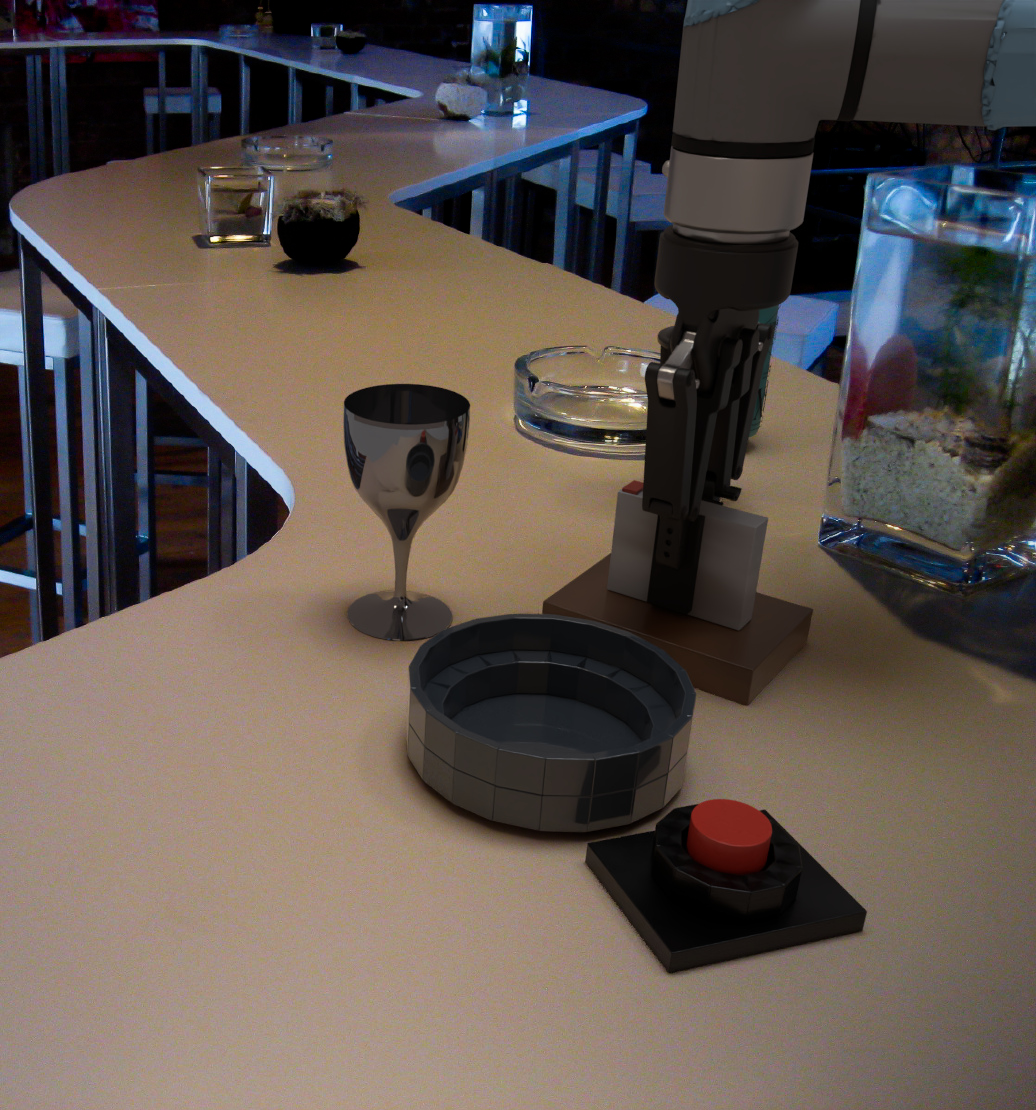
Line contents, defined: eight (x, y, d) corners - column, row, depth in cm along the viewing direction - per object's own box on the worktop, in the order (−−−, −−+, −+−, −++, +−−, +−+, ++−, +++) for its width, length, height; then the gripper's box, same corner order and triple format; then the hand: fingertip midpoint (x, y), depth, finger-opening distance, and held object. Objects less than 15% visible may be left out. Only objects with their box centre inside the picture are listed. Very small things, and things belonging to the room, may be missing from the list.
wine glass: (394, 577, 93) (400, 375, 86) (482, 614, 88) (496, 403, 81) (316, 614, 88) (317, 403, 81) (405, 656, 83) (413, 434, 76)
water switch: (761, 828, 67) (770, 779, 65) (863, 931, 60) (875, 879, 58) (584, 862, 64) (590, 812, 63) (668, 974, 57) (677, 921, 56)
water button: (738, 822, 63) (743, 793, 62) (782, 869, 60) (788, 838, 59) (671, 835, 62) (676, 805, 61) (713, 883, 59) (718, 852, 58)
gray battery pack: (751, 619, 82) (769, 513, 78) (739, 631, 80) (756, 524, 77) (620, 579, 87) (632, 478, 84) (606, 589, 85) (617, 487, 82)
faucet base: (807, 642, 84) (814, 608, 83) (747, 706, 77) (753, 670, 76) (610, 581, 92) (614, 549, 91) (539, 634, 85) (542, 600, 84)
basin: (601, 670, 81) (609, 599, 79) (739, 813, 68) (753, 732, 66) (370, 706, 77) (371, 632, 75) (468, 864, 64) (473, 780, 62)
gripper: (720, 201, 81) (674, 544, 91) (606, 241, 70) (568, 624, 80) (842, 215, 76) (779, 574, 86) (741, 260, 66) (683, 663, 76)
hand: (678, 598), depth 83 cm, fingers closed on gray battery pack, 2 cm apart
